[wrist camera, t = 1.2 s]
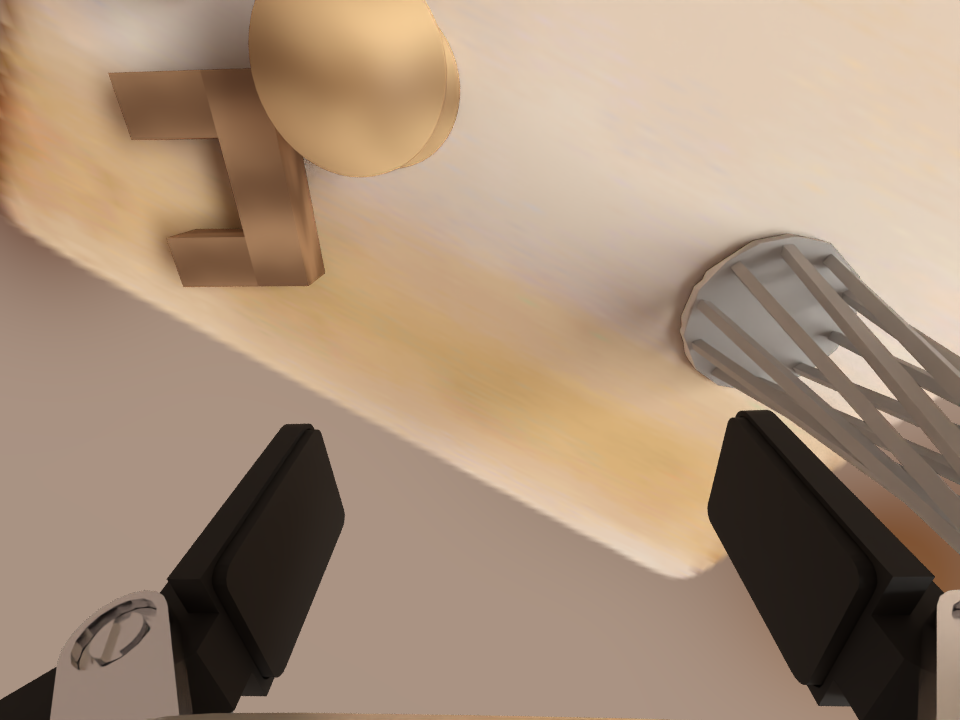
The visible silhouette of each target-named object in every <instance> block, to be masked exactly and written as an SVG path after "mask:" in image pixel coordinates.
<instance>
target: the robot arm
mask: <svg viewBox="0 0 960 720" xmlns="http://www.w3.org/2000/svg"><path fill="white" fill-rule="evenodd" d="M708 516H709V520H710V522H711V524H712V526H713V528H714V530H715V531H716V533H717V535H718V537H719V539H720V541H721V542H722V544H723V546H724V548H725V550H726V552H727V554H728V555H729V557H730V559H731V561H732V563H733V565H734V566H735V568H736V570H737V572H738V574H739V576H740V578H741V579H742V581H743V583H744V585H745V587H746V589H747V590H748V592H749V594H750V596H751V598H752V600H753V601H754V603H755V605H756V607H757V609H758V611H759V613H760V614H761V616H762V618H763V620H764V622H765V624H766V626H767V627H768V629H769V631H770V633H771V635H772V636H773V638H774V640H775V642H776V644H777V646H778V648H779V650H780V651H781V653H782V655H783V657H784V659H785V661H786V662H787V664H788V666H789V668H790V670H791V672H792V673H793V675H794V676H795V678H796V679H797V680H798V681H799V682H800V683H801V684H803V685H807V686H808V688H809V690H810V691H811V693H812V695H813V697H814V699H815V700H816V702H817V704H818V705H819V706H851V707H852V709H853V711H854V712H855V714H856V716H857V717H858V719H859V720H960V590H951V591H948V592H946V593H944V592H943V591H942V590H941V589H940V588H939V587H938V586H937V585H936V584H935V583H934V582H933V579H934V578H935V576H934V575H933V574H932V573H931V572H930V571H929V570H928V569H927V568H926V567H925V566H924V565H923V564H922V563H921V562H920V561H919V560H918V559H917V558H916V557H915V556H914V555H913V554H912V553H911V552H910V551H909V550H908V549H907V548H906V547H905V546H904V545H903V544H902V543H901V542H900V541H899V540H898V539H897V538H896V537H895V535H893V533H892V532H891V531H889V529H888V528H887V527H885V525H884V524H883V523H882V522H881V521H880V520H879V519H878V518H877V517H876V516H875V515H874V514H873V513H872V512H871V511H870V510H869V509H868V508H867V507H866V506H865V505H864V504H863V503H862V502H861V501H860V500H859V499H858V498H857V497H856V496H855V495H854V494H853V493H852V492H851V491H850V490H849V489H848V488H847V487H846V486H845V485H844V484H843V483H842V482H841V481H840V480H839V479H838V478H837V477H836V476H835V475H834V474H833V473H832V472H831V471H830V470H829V468H828V467H827V466H826V465H825V464H824V463H823V462H822V461H821V460H820V459H819V458H818V457H817V456H816V455H815V454H814V453H813V452H812V451H811V450H810V449H809V448H808V447H807V446H806V445H805V444H804V443H803V442H802V441H801V440H800V439H799V438H798V437H797V436H796V435H795V434H794V433H793V432H792V431H791V430H790V429H789V428H788V427H787V426H786V425H785V424H784V423H783V422H782V421H781V420H780V419H779V418H778V417H777V416H776V415H775V414H774V413H773V412H772V411H769V410H751V411H740V412H738V413H737V415H736V417H735V418H730V420H729V421H728V424H727V428H726V432H725V436H724V440H723V444H722V449H721V453H720V457H719V461H718V465H717V469H716V473H715V477H714V482H713V486H712V490H711V494H710V498H709V502H708ZM344 517H345V514H344V509H343V505H342V502H341V498H340V495H339V492H338V488H337V485H336V482H335V478H334V475H333V471H332V468H331V465H330V461H329V458H328V454H327V451H326V448H325V444H324V441H323V438H322V434H321V432H320V431H319V430H314V427H313V426H312V425H311V424H286V425H284V426H283V427H282V428H281V429H280V430H279V432H278V433H277V434H276V436H275V437H274V438H273V440H272V441H271V442H270V443H269V445H268V446H267V448H266V449H265V450H264V452H263V453H262V454H261V455H260V457H259V458H258V459H257V461H256V462H255V463H254V465H253V466H252V467H251V469H250V470H249V471H248V472H247V474H246V475H245V476H244V478H243V479H242V480H241V482H240V483H239V484H238V486H237V487H236V488H235V490H234V491H233V492H232V494H231V495H230V496H229V498H228V499H227V500H226V502H225V503H224V504H223V505H222V507H221V508H220V510H219V511H218V512H217V513H216V515H215V516H214V517H213V519H212V520H211V521H210V523H209V524H208V525H207V527H206V528H205V529H204V531H203V532H202V533H201V535H200V536H199V537H198V538H197V540H196V541H195V542H194V544H193V545H192V546H191V548H190V549H189V550H188V552H187V553H186V554H185V556H184V557H183V558H182V560H181V561H180V562H179V564H178V565H177V566H176V568H175V569H174V570H173V571H172V573H171V574H170V575H169V577H168V578H167V580H168V583H167V584H166V585H165V587H164V588H163V590H162V591H161V592H160V593H158V592H156V591H148V590H144V591H139V592H134V593H130V594H128V595H125V596H123V597H121V598H118V599H115V600H114V601H112V602H110V603H109V604H107V605H105V606H104V607H102V608H100V609H99V610H98V611H96V612H95V613H94V614H93V615H91V616H90V617H89V618H88V619H86V620H85V621H84V622H83V623H82V624H81V625H80V626H79V627H78V628H77V629H76V631H74V633H73V634H72V635H71V636H70V638H69V639H68V641H67V642H66V644H65V646H64V647H63V648H62V650H61V653H60V656H59V659H58V663H57V667H55V668H54V669H52V670H50V671H49V672H47V673H45V674H43V675H42V676H40V677H39V678H37V679H35V680H33V681H32V682H30V683H28V684H26V685H25V686H23V687H21V688H20V689H18V690H16V691H15V692H13V693H11V694H9V695H8V696H6V697H4V698H3V699H1V700H0V720H665V719H627V718H581V717H579V718H578V717H576V718H575V717H532V716H480V715H421V714H416V715H415V714H352V713H233V711H234V710H235V708H236V706H237V703H238V701H239V699H240V697H241V696H267V694H268V692H269V689H270V687H271V684H272V682H273V679H274V677H279V676H280V675H281V674H282V673H283V672H284V669H285V667H286V665H287V663H288V660H289V658H290V655H291V653H292V651H293V648H294V646H295V643H296V640H297V638H298V636H299V633H300V631H301V628H302V626H303V624H304V621H305V619H306V616H307V614H308V611H309V609H310V606H311V604H312V601H313V599H314V597H315V594H316V591H317V589H318V587H319V584H320V582H321V579H322V577H323V574H324V572H325V570H326V567H327V565H328V562H329V560H330V557H331V555H332V552H333V550H334V547H335V545H336V543H337V540H338V537H339V535H340V533H341V530H342V528H343V525H344ZM666 720H668V719H666Z"/></svg>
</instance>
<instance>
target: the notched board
mask: <svg viewBox="0 0 960 720" xmlns="http://www.w3.org/2000/svg"><path fill="white" fill-rule="evenodd" d="M108 74H109V77H110V80H111V82H112V85H113V88H114V91H115V94H116V97H117V99H118V102H119V105H120V108H121V111H122V114H123V117H124V119H125V122H126V125H127V128H128V131H129V134H130V136H131V139H132V140H172V139H211V138H218V139H219V143H220V147H221V150H222V154H223V158H224V162H225V165H226V169H227V173H228V176H229V180H230V184H231V188H232V191H233V195H234V199H235V202H236V206H237V210H238V214H239V217H240V221H241V225H242V229H195V230H192V231H189V232H185V233H182V234H178V235H175V236H172V237H168V238H166V239H167V242H168V244H169V247H170V250H171V253H172V256H173V259H174V262H175V264H176V267H177V270H178V273H179V276H180V279H181V281H182V284H183V287H233V286H309V285H310V284H312V283H313V282H314V281H316V280H317V279H318V278H319V277H321V276H322V275H323V274H325V270H324V265H323V260H322V255H321V250H320V244H319V239H318V234H317V229H316V223H315V218H314V213H313V208H312V203H311V197H310V192H309V187H308V182H307V176H306V171H305V166H304V161H303V156H302V155H301V154H299V153H298V152H297V151H296V150H295V149H294V148H293V147H292V146H291V145H290V144H289V143H288V142H287V141H286V140H285V139H284V138H283V137H282V135H281V134H280V133H279V132H278V130H277V129H276V128H275V126H274V125H273V123H272V121H271V120H270V118H269V117H268V115H267V113H266V111H265V109H264V107H263V105H262V103H261V100H260V98H259V95H258V93H257V90H256V87H255V83H254V80H253V76H252V71H251V68H243V69H213V70H183V71H153V72H123V73H108Z"/></svg>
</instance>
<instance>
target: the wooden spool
mask: <svg viewBox="0 0 960 720" xmlns="http://www.w3.org/2000/svg"><path fill="white" fill-rule="evenodd" d="M248 45H249V59H250V65H251V71H252V76H253V80H254V83H255V87H256V90H257V93H258V95H259V98H260V100H261V103H262V105H263V107H264V109H265V111H266V113H267V115H268V117H269V118H270V120H271V121H272V123H273V125H274V126H275V128H276V129H277V130H278V132H279V133H280V134H281V135H282V137H283V138H284V139H285V140H286V141H287V142H288V143H289V144H290V145H291V146H292V147H293V148H294V149H295V150H296V151H297V152H298V153H299V154H301V155H302V156H303V157H304V158H306V159H307V160H309V161H310V162H312V163H313V164H315V165H317V166H319V167H321V168H323V169H325V170H327V171H330V172H333V173H336V174H339V175H344V176H349V177H371V176H376V175H380V174H384V173H388V172H390V171H393V170H395V169H398V168H403V167H408V166H411V165H414V164H417V163H419V162H422V161H423V160H425V159H427V158H428V157H430V156H431V155H432V154H433V153H435V152H436V151H437V150H438V149H439V148H440V147H441V145H442V144H443V143H444V141H445V140H446V139H447V137H448V135H449V134H450V132H451V130H452V128H453V125H454V122H455V120H456V116H457V112H458V108H459V100H460V82H459V74H458V69H457V64H456V61H455V58H454V55H453V52H452V50H451V48H450V46H449V43H448V42H447V40H446V38H445V36H444V35H443V33H442V31H441V30H440V28H439V27H438V26H437V23H436V21H435V19H434V17H433V15H432V12H431V10H430V8H429V7H428V5H427V3H426V2H425V0H255V3H254V6H253V10H252V14H251V20H250V26H249V41H248Z"/></svg>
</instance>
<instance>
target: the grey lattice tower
mask: <svg viewBox="0 0 960 720" xmlns="http://www.w3.org/2000/svg"><path fill="white" fill-rule="evenodd" d="M857 311H858V312H859V313H860V314H862V315H863V316H865V317H866V318H867V319H869V320H870V321H872V322H873V323H874V324H876V325H877V326H879V327H880V328H881V329H883V330H884V331H885V332H887V333H888V334H890V335H891V336H892V337H894V338H895V339H897V340H898V341H899V342H900V343H901V344H902V346H903V347H904V348H905V349H906V350H907V351H908V352H909V353H910V354H911V355H912V356H913V357H914V358H915V359H916V360H917V361H918V362H919V363H920V364H921V365H922V366H923V367H924V368H925V370H926V371H925V370H923V369H921V368H919V367H916V366H914V365H912V364H910V363H908V362H905V361H903V360H901V359H899V358H896V357H894V356H893V355H892V354H891V353H890V352H889V351H888V350H887V349H886V347H885V346H884V345H883V344H882V343H881V342H880V341H879V340H878V338H877V337H876V336H875V335H874V334H873V333H872V332H871V331H870V329H869V328H868V327H867V326H866V325H865V324H864V323H863V322H862V320H861V319H860V318H859V317H858V316H857V315H856V313H857ZM681 322H682V326H681V328H680V333H681V336H682V339H683V342H684V350H685V355H686V356H687V358H688V359H689V361H690V362H691V364H692V365H693V367H694V368H695V369H696V370H697V371H699V372H700V373H702V374H703V375H704V376H706V377H707V378H709V379H710V380H712V381H713V382H714V383H716V384H717V385H720V386H726V387H731V388H736V389H738V390H739V391H741V392H743V393H745V394H746V395H748V396H750V397H752V398H753V399H755V400H757V401H759V402H760V403H762V404H764V405H766V406H767V407H769V408H771V409H773V410H774V411H776V412H778V413H780V414H782V415H783V416H785V417H787V418H788V419H790V420H791V421H792V422H794V423H795V424H796V425H798V426H799V427H801V428H802V429H803V430H805V431H806V432H808V433H809V434H810V435H812V436H813V437H814V438H816V439H817V440H819V441H820V442H821V443H823V444H824V445H825V446H827V447H828V448H830V449H831V450H832V451H834V452H835V453H837V454H838V455H839V456H841V457H842V458H843V459H845V460H846V461H848V462H849V463H850V464H852V465H853V466H855V467H856V468H857V469H859V470H860V471H861V472H863V473H864V474H865V475H867V476H868V477H870V478H871V479H872V480H874V481H875V482H877V483H878V484H879V485H881V486H882V487H883V488H885V489H886V490H888V491H889V492H890V493H892V494H893V495H895V496H896V497H897V498H899V499H900V500H901V501H903V502H904V503H905V504H906V505H907V506H908V507H910V508H911V509H912V510H913V511H914V512H915V513H916V514H917V515H918V516H919V517H920V518H921V519H922V520H923V521H925V522H926V523H927V524H928V525H929V526H930V527H931V528H932V529H933V530H934V531H935V532H936V533H937V534H938V535H939V536H940V537H941V538H943V539H944V540H945V541H946V542H947V543H948V544H949V545H950V546H951V547H952V548H953V549H954V550H955V551H957V553H959V554H960V496H958V495H957V494H955V493H954V491H953V490H952V489H951V488H950V487H949V486H948V485H947V484H946V483H945V482H944V481H943V480H942V479H941V478H940V477H939V475H940V476H942V477H945V478H947V479H949V480H951V481H953V482H955V483H957V484H959V485H960V425H957V424H955V423H952V422H951V421H950V420H949V418H948V417H947V416H946V415H945V414H944V413H943V412H942V410H941V409H940V408H939V407H938V406H937V405H936V404H935V403H934V401H933V400H932V399H931V398H930V397H929V396H928V395H927V394H926V392H925V391H924V390H923V389H922V388H924V389H926V390H928V391H930V392H932V393H934V394H936V395H938V396H940V397H941V398H943V399H946V400H947V401H949V402H951V403H953V404H955V405H957V406H959V407H960V357H959V356H958V355H956V354H954V353H953V352H951V351H950V350H948V349H947V348H945V347H944V346H942V345H940V344H939V343H937V342H936V341H934V340H933V339H931V338H930V337H928V336H926V335H925V334H923V333H922V332H920V331H919V330H917V329H915V328H914V327H912V326H911V325H909V324H908V323H907V322H906V321H905V320H903V319H902V318H901V317H900V316H899V315H898V314H897V313H896V312H895V311H894V310H893V309H892V308H891V307H889V306H888V305H887V304H886V303H885V302H884V301H883V300H882V299H881V298H880V297H879V296H878V295H877V294H876V293H874V292H873V291H872V290H871V289H870V288H869V287H868V286H867V285H866V284H865V283H864V282H863V281H862V280H860V276H859V275H858V274H857V273H856V272H855V271H854V269H853V268H852V267H851V266H850V265H849V264H848V262H847V261H846V260H845V259H844V258H843V257H842V255H841V254H840V253H839V252H838V251H837V250H836V249H835V247H834V246H833V245H832V244H831V243H829V242H826V241H823V240H818V239H813V238H808V237H803V236H798V235H793V234H784V235H779V236H774V237H769V238H764V239H759V240H754V241H752V242H750V243H749V244H747V245H746V246H744V247H743V248H741V249H740V250H738V251H737V252H735V253H733V254H732V255H730V256H729V257H727V258H726V259H724V260H723V261H721V262H720V263H718V264H717V265H715V266H714V267H712V268H711V269H709V270H707V271H706V273H705V275H704V277H703V279H702V280H701V281H700V282H699V283H698V284H696V285H695V286H694V288H693V290H692V292H691V295H690V297H689V299H688V302H687V304H686V306H685V308H684V311H683V313H682V315H681ZM839 345H840V346H842V347H844V348H846V349H848V350H850V351H852V352H854V353H856V354H858V355H860V356H862V357H863V358H864V359H865V360H866V361H867V363H868V364H869V365H870V366H871V368H872V369H873V370H874V371H875V372H876V374H877V375H878V376H879V377H880V379H881V380H882V381H883V382H884V384H885V385H886V386H887V387H888V389H889V390H890V391H891V392H892V393H893V395H894V396H895V397H896V398H897V400H898V401H897V400H895V399H892V398H890V397H887V396H885V395H882V394H880V393H877V392H875V391H872V390H870V389H867V388H865V387H862V386H860V385H857V384H854V383H852V382H851V381H850V380H849V379H848V377H847V376H846V375H845V374H844V373H843V372H842V371H841V370H840V369H839V368H838V367H837V365H836V364H835V363H834V362H833V361H832V360H831V359H830V358H829V357H828V356H829V355H830V354H831V353H833V352H834V351H835V350H836V349H837V348H838V346H839ZM814 367H817V368H818V369H817V368H814ZM799 376H803V377H806V378H808V379H810V380H812V381H815V382H817V383H819V384H822V385H824V386H826V387H828V388H831V389H833V390H835V391H838V392H839V393H840V394H841V396H842V397H843V398H844V399H845V400H846V401H847V402H848V403H849V405H850V406H851V407H852V408H853V409H854V410H855V411H856V413H857V414H858V415H859V416H860V417H861V418H862V419H863V420H864V421H862V420H860V419H857V418H855V417H853V416H850V415H848V414H846V413H843V412H841V411H839V410H836V409H834V408H832V407H831V406H830V405H829V404H827V403H826V402H825V401H824V400H823V399H822V398H821V397H819V396H818V395H817V394H816V393H815V392H814V391H813V390H811V389H810V388H809V387H808V386H807V385H806V384H805V383H803V382H802V381H801V380H800V379H799V378H798V377H799ZM921 387H922V388H921ZM877 409H879V410H881V411H883V412H885V413H888V414H890V415H892V416H895V417H897V418H899V419H901V420H904V421H906V422H908V423H911V424H913V425H915V426H917V427H920V428H921V429H922V430H923V432H924V433H925V434H926V435H927V436H928V438H929V439H930V440H931V442H932V443H933V444H934V445H935V446H936V448H937V449H938V450H939V451H940V453H941V454H942V455H941V454H939V453H937V452H934V451H932V450H929V449H927V448H925V447H923V446H920V445H917V444H915V443H913V442H911V441H909V440H906V439H904V438H903V437H902V436H901V435H900V434H899V433H898V432H897V431H896V430H895V428H894V427H893V426H892V425H891V424H890V423H889V422H888V421H887V420H886V419H885V418H884V416H883V415H882V414H881V413H880V412H879V411H878V410H877ZM876 445H877V446H879V447H881V448H884V449H886V450H888V451H890V452H891V453H892V454H893V455H894V456H895V457H896V458H897V459H898V461H899V462H900V463H901V464H902V465H903V466H902V465H900V464H898V463H896V462H894V461H893V460H892V459H890V458H889V457H888V456H887V455H886V454H885V453H884V452H883V451H881V450H880V449H879V448H878V447H877V446H876ZM938 474H939V475H938Z"/></svg>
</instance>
